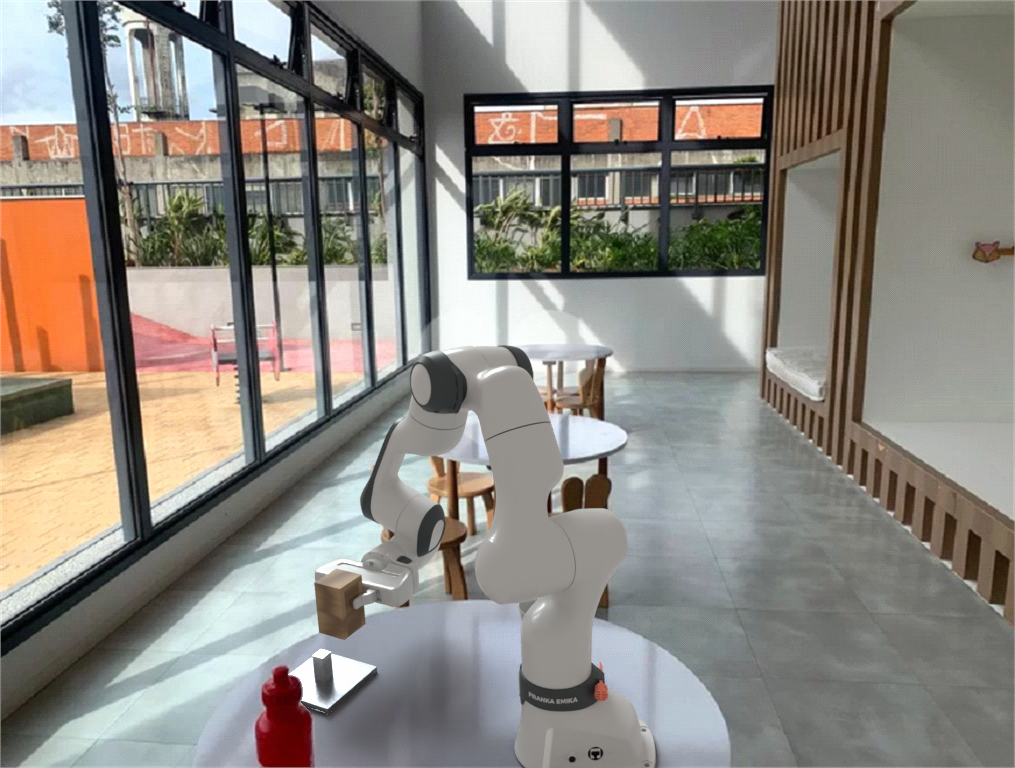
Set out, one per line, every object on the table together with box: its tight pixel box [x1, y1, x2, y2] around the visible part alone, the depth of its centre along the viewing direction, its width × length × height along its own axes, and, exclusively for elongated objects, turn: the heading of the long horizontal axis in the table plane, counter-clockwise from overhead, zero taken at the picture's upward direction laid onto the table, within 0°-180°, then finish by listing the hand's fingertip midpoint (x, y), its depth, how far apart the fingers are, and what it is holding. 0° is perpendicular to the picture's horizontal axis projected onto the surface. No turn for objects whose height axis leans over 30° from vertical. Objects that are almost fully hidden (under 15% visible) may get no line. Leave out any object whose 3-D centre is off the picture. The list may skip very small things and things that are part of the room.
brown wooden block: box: [313, 569, 366, 641], centre depth 131 cm, size 6×6×10 cm
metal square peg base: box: [289, 648, 378, 715], centre depth 134 cm, size 14×14×6 cm
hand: (336, 600), depth 130 cm, fingers closed on brown wooden block, 6 cm apart
